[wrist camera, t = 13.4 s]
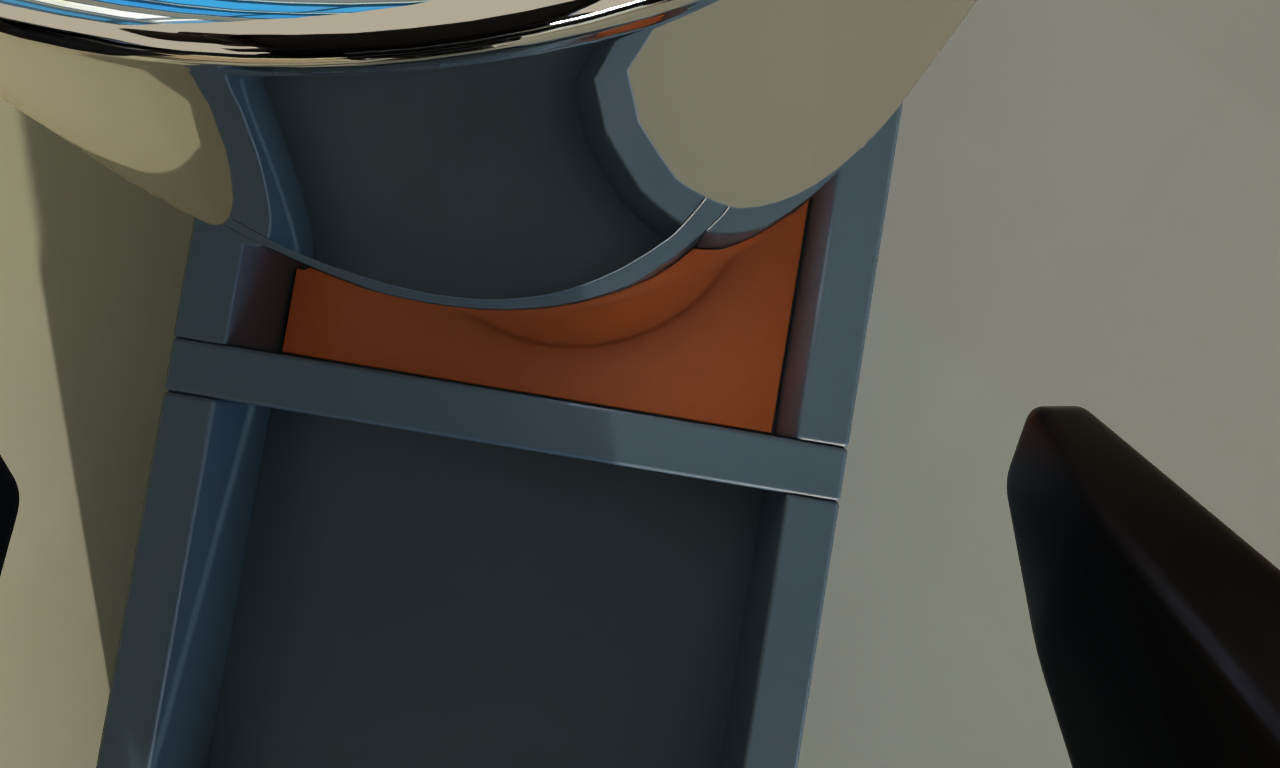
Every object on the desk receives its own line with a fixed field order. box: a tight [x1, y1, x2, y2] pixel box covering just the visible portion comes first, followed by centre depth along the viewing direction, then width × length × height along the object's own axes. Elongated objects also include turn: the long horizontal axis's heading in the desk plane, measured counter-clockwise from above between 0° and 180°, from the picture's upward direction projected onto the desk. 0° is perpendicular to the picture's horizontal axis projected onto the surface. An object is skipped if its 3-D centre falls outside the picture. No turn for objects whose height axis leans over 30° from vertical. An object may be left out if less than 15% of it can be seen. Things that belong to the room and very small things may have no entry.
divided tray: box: [96, 102, 903, 768], centre depth 17 cm, size 19×10×3 cm, turn 171°
